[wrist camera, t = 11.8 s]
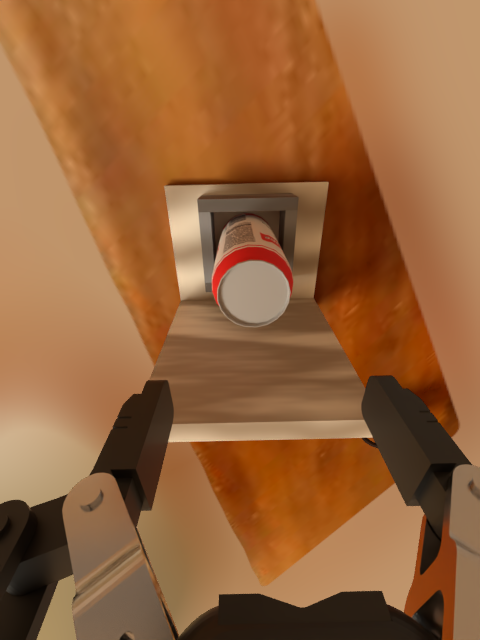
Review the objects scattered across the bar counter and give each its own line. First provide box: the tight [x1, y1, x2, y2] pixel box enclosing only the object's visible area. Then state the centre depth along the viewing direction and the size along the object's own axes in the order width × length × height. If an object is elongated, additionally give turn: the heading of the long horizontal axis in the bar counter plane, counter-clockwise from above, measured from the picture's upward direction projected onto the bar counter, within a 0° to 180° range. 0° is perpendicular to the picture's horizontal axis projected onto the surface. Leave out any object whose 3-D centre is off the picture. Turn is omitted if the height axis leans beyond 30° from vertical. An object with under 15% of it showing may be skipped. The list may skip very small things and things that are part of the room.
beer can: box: [212, 213, 294, 327], centre depth 26 cm, size 6×6×16 cm
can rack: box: [150, 182, 372, 442], centre depth 25 cm, size 16×18×21 cm
